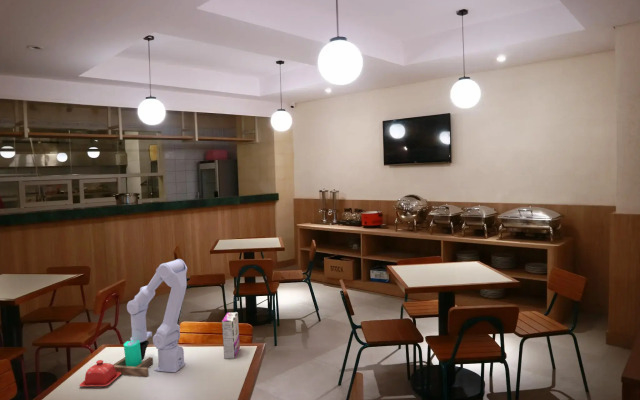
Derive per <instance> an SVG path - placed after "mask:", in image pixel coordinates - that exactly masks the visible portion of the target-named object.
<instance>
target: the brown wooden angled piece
mask: <svg viewBox="0 0 640 400" xmlns="http://www.w3.org/2000/svg"><path fill="white" fill-rule="evenodd" d="M153 359H154V358H153V357H147V358H146V359H144V360H142V363H140V364H139V365H138V366H136V367H133V366H126V360H125V356H124V357H123V358H121V359H119V360H118V361H116V362H114V363H112V364H113V365H114V367H115V370H116V372H121V374H120V375H119V376H133V377H143V378H144V377H145V378H147V377H149V375H150V372H149V368H150V367H152V366H153V365H154V360H153Z"/></svg>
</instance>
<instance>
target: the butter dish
mask: <svg viewBox="0 0 640 400" xmlns="http://www.w3.org/2000/svg"><path fill="white" fill-rule="evenodd" d="M95 363H96V364H94V365H92V366H90V367H89V368H88V369H87V370H86V371H85V377H84V380H83V381H82V382H80V384H79V387H107V386H109V385H110V384H111V383H112V382H114V381H115V380H116V379H117V378H118V377H120V376H121V375H120V374H121V372H116V370H115V367H114V365H113V364H114V363H108V362H104V360H103V359H99V360H97V361H96V362H95Z"/></svg>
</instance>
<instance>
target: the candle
mask: <svg viewBox="0 0 640 400" xmlns="http://www.w3.org/2000/svg"><path fill="white" fill-rule="evenodd" d="M130 341H131V343H132V342H134V340H127V341H125V342H124V343H123V349H124V350H123V351H124V357H125V360H126V366H133V367H136V366H138V365H139V364H140V363H142V362H143V360H142V358H141V349H140V341H139V340H137V342H138V341H139V342H138V343H136V344H134V345H132V346H127V344H128V343H129V342H130Z"/></svg>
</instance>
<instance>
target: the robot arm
mask: <svg viewBox="0 0 640 400" xmlns="http://www.w3.org/2000/svg"><path fill="white" fill-rule="evenodd" d="M187 272H188V267H187V264H186V263H185V261H184V260H183V259H181V258H177V259H175V260H171V261H168V262H163V263H161V264H159V266H158V267H157V268H156V269H155V273H154V275H153V277H152V278H151V280H150V281H149V283H148V284H147V285H145V286H141V287H140V288H139V292H138V293H137V294H136V295H134V298H133V299H132V300H129V301H128V302H127V304H126V310H127V312H128V313H129V315H130V326H131V337H130V338H129V341H130V342H129V343H128V344H127V346H132V345H134V344H136V343H138V342H139V341H140V349H141V358H142V361H144V360H145V356H146V351H147V348H148V346H149V343H150V341H149V340H148V338H151V337H152V344H153V346H154V347H155V348H156V349H157V355H158V366H157V367H156V368H154V371H155V372H168V373H176V372H178V371H179V370H180V369H182V367H184V366H185V365H186V362H185V352H184V347H182V346H180V345H178V343H179V342H178V341H179V340H180V337H181V331H180V330H181V326H180V325H179V324H178V321H179V319H180V318H179V317H180V314H181V309H182V305H183V302H184V299H185V294H186V290H187V288H188V287H187V285H188V284H187V283H188V282H187ZM162 283H165V284H166V285H167V286H168V287H170V293H169V296H168V299H167V304H166V308H165V310H164V311H165V312H164V317H163V321H162V323H161V324H160V326H159V327H158V328H157V329H156V332H155V334H154V335H153V331H148V330H147V318H146V317H147V316H146V315H147V313H148V312H147V310H148V308H149V303H150V302H151V301H152V299H154V297H155V295H156V290H157V289H158V288H159V286H160V285H161V284H162ZM131 340H134V342H132V343H131ZM137 340H139V341H138V342H137Z"/></svg>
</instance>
